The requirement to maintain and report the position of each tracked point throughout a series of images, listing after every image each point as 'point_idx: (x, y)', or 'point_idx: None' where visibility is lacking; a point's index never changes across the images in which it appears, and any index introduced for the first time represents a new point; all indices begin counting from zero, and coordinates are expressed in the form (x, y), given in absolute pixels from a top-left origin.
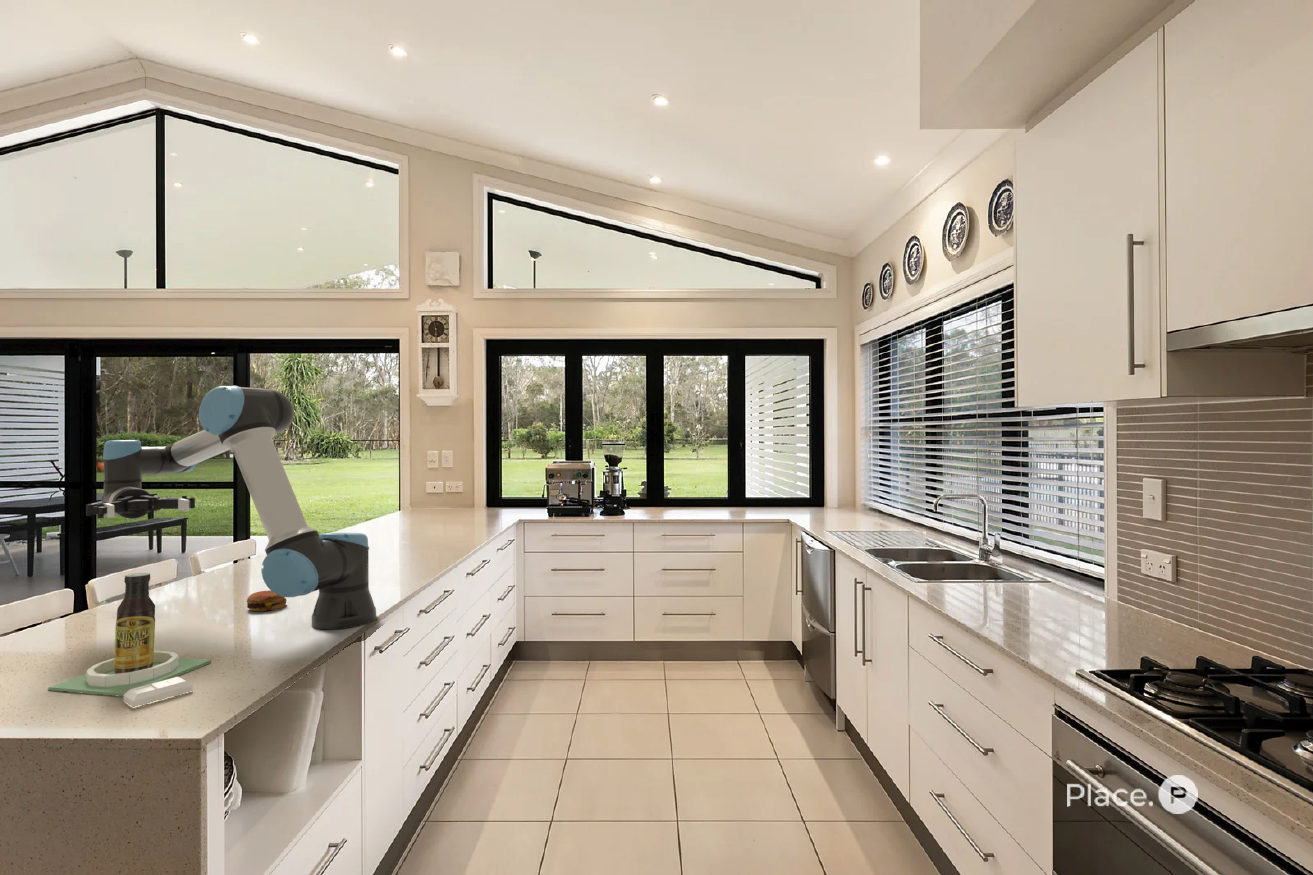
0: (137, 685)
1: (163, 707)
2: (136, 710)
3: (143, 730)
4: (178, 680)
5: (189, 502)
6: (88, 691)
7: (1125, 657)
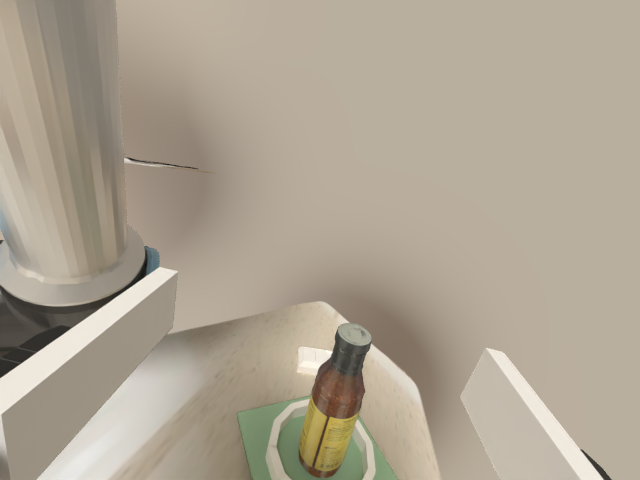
0: None
1: (324, 345)
2: None
3: None
4: (308, 351)
5: (64, 331)
6: (369, 434)
7: None
